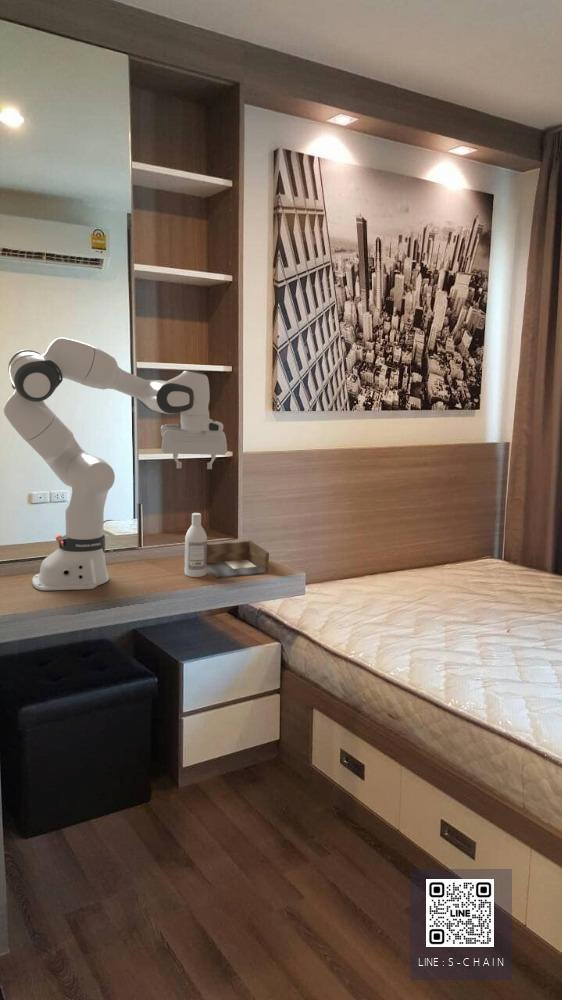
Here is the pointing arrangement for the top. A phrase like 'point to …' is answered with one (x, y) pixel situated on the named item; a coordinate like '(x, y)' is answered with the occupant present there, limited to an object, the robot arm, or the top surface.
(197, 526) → the bath foam
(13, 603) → the top surface
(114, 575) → the top surface
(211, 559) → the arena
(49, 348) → the robot arm
